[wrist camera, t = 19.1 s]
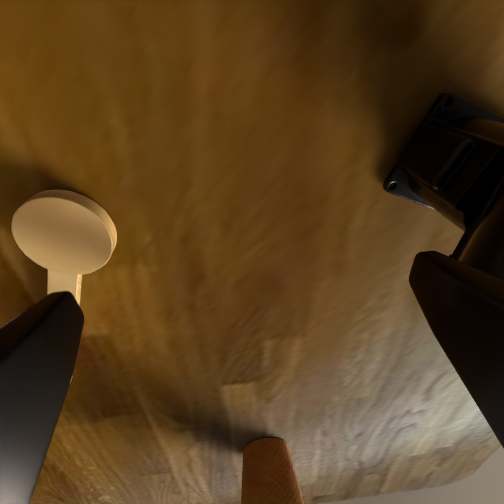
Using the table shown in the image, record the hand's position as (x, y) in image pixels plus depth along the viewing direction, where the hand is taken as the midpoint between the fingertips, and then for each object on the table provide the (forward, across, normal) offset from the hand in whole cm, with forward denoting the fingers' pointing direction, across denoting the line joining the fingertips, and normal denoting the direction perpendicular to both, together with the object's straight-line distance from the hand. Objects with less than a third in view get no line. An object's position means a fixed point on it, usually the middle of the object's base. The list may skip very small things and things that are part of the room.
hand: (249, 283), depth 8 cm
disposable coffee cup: (+13, -1, +42) cm, 44 cm away
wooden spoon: (+13, +14, +11) cm, 22 cm away
